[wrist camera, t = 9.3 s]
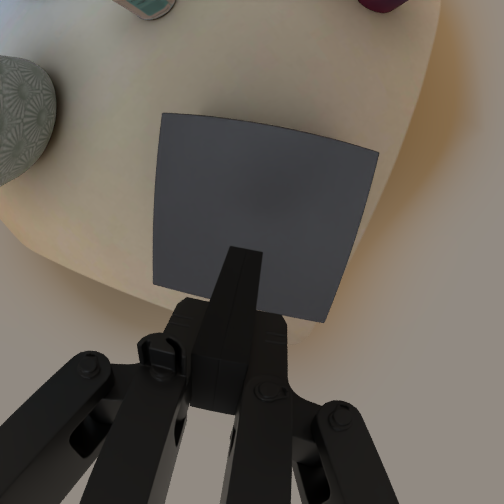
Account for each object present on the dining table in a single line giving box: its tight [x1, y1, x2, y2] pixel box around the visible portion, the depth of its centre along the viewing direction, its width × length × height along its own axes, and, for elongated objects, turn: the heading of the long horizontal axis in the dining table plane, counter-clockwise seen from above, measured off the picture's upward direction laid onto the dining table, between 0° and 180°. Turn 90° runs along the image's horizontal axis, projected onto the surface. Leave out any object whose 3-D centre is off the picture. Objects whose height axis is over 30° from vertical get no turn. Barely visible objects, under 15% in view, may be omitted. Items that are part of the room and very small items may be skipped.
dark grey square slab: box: [153, 113, 379, 323], centre depth 19 cm, size 14×14×1 cm
